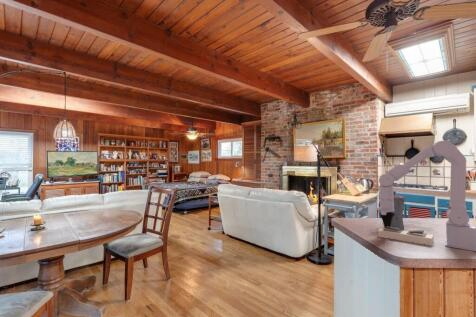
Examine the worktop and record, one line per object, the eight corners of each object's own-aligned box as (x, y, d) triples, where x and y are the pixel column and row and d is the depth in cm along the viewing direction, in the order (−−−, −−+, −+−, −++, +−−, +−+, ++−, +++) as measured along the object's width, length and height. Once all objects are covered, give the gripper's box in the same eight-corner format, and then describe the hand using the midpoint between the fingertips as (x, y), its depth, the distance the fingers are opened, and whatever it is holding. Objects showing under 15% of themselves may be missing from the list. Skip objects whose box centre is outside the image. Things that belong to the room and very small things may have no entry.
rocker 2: (423, 231, 105) (423, 229, 105) (423, 233, 103) (422, 231, 103) (410, 231, 108) (410, 229, 108) (409, 233, 106) (409, 231, 106)
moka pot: (398, 232, 119) (396, 192, 120) (374, 225, 134) (373, 190, 135) (413, 231, 121) (412, 192, 122) (388, 224, 136) (387, 189, 137)
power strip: (433, 241, 104) (433, 234, 104) (432, 245, 99) (431, 237, 99) (381, 233, 118) (381, 226, 118) (377, 236, 113) (377, 229, 113)
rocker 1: (399, 229, 111) (399, 228, 111) (398, 231, 109) (398, 229, 109) (387, 226, 115) (387, 225, 115) (386, 228, 112) (386, 226, 112)
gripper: (381, 197, 122) (381, 223, 121) (373, 200, 111) (373, 229, 111) (397, 198, 117) (398, 226, 116) (390, 201, 106) (391, 232, 106)
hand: (387, 227), depth 113 cm, fingers closed, pressing on rocker 1
